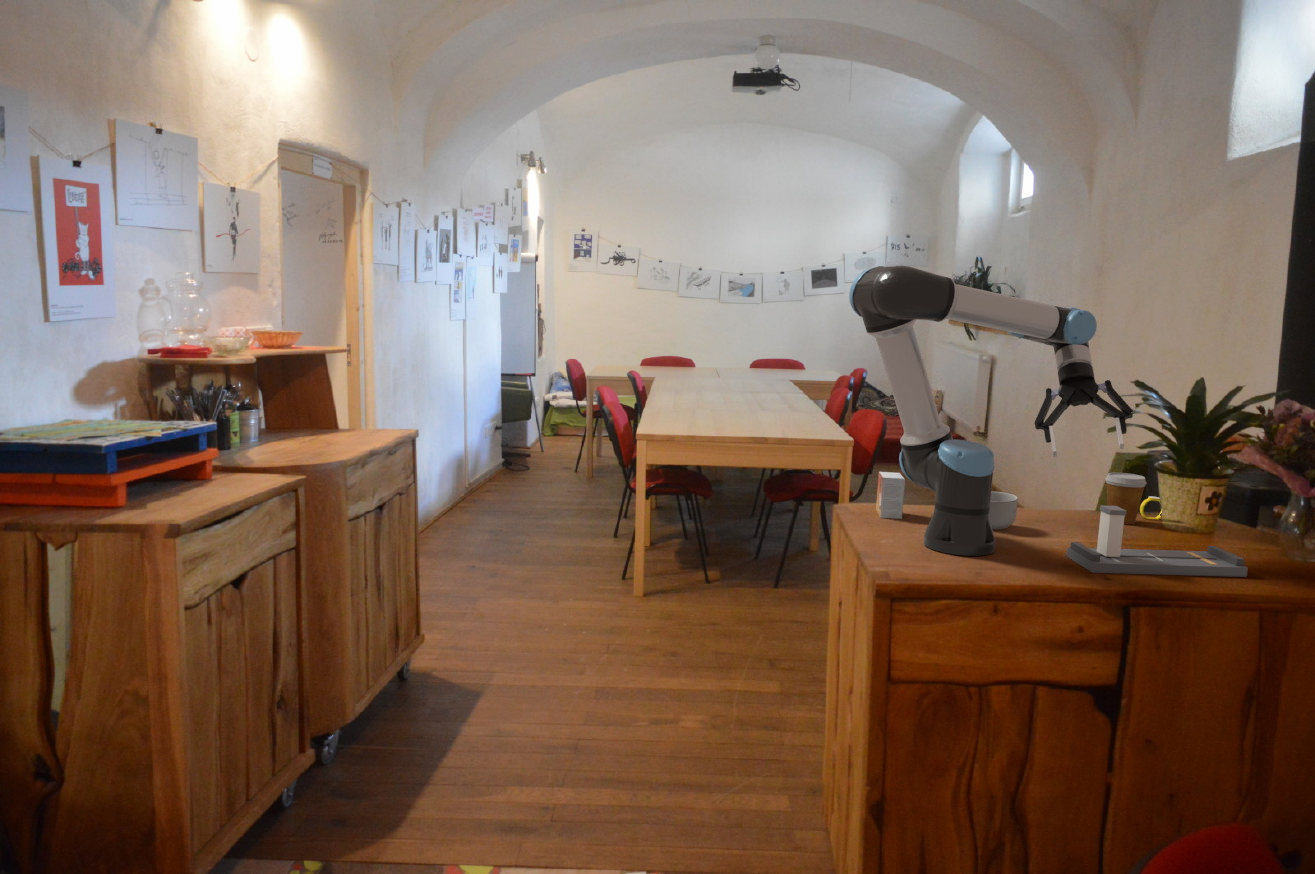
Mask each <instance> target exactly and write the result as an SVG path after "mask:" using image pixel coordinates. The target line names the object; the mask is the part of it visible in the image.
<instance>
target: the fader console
mask: <svg viewBox="0 0 1315 874" xmlns="http://www.w3.org/2000/svg"><path fill="white" fill-rule="evenodd" d="M1206 550H1207V551H1203V550H1174V549H1173V550H1171V549H1170V550H1168V549H1135V548H1133V549H1132V548H1121V553H1120V557H1107V556H1104V555H1102V554H1101V553H1099V552H1097V547H1095V548H1094V547H1088V546H1085V545H1084V544H1082V543H1081V542H1078V541H1071V542H1070V546H1069V547H1066V555H1065V556H1066V557H1067V558H1069V559H1070V560H1071V559H1072V560H1071V561H1073V562H1075V563H1076V564H1078V565H1080V566H1081V567H1083V568H1084V569H1086V570H1088V571H1089V572H1091V573H1095V574H1096V573H1097V574H1098V573H1099V574H1100V573H1101V574H1129V575H1130V574H1131V575H1132V574H1133V575H1134V574H1135V575H1161V576H1162V575H1163V576H1164V575H1165V576H1169V575H1170V576H1200V577H1201V576H1202V577H1203V576H1204V577H1205V576H1206V577H1237V578H1239V577H1241V578H1242V577H1243V578H1247V576H1248V570H1249V569H1248V568H1249V567H1248V566H1246V565H1245V561H1246V560H1245V558H1243V557H1242V556H1239V555H1236V554H1234V553H1232V552H1230V551H1228V550H1225V549H1223V548H1221V547H1218V546H1216V545H1208V546H1207V549H1206Z"/></svg>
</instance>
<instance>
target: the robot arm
mask: <svg viewBox="0 0 1315 874" xmlns="http://www.w3.org/2000/svg"><path fill="white" fill-rule="evenodd" d="M848 293H849V294H848V295H849V296H848V298H849V304H850V307H851V308H852V310H853V311H854V312H855V314H857V316H859V317H861V318H862V322H863V324H864V327H865V330H866V334H868V335H870V336H871V337H874V339H875V340H876V343H877V344H876V345H877V346H878V351H879V353H880V356H881V360H882V364H883V366H884V370H885V373H886V377H887V380H888V383H889V386H890V390H891V393H892V395H893V399H894V402H895V405H896V408H897V413H898V416H899V419H900V422H901V426H902V429H903V435H902V436H901V437H900V440H899V441H900V446H901V451H900V452H899V455H898V456H899V457H898V460H899V467H900V470H901V471H902V473H903V475H904V476H905V478H907V479H908V480H909V481H911V482H912V483H914V484H915V485H917V486H920V487H922V488H926V489H929V490H931V491H933V492H935V498H934V510H933V513H932V515H931V518H930V521H929V522H928V525H927V527H926V529H925V532H924V537H923V544H924V546H925V547H927V548H928V549H931V550H934V551H936V552H940V553H945V554H949V555H955V556H966V557H967V556H969V557H979V556H981V557H982V556H987V555H991V554H994V553H995V551H996V550H995V549H996V539H995V535H994V529H992V526H991V522H990V518H989V510H990V500H991V491H992V487H993V478H994V477H993V476H994V470H995V457H994V456H995V455H994V452H993V450H992V449H991V448H990V447H988V446H986V445H984V444H983V443H979V442H976V441H975V442H974V441H970V440H966V439H954V438H953V435H952V432H951V428H950V426H949V425H947V424H945V423H943V422H942V421H941V418H940V415H939V412H938V408H937V404H936V401H935V398H934V394H933V391H932V388H931V383H930V380H929V377H928V374H927V370H926V366H925V364H924V360H923V357H922V353H921V350H920V346H919V343H918V339H917V336H916V333H915V329H914V325H915V322H917V320H918V321H919V320H920V321H921V320H922V321H923V320H924V321H932V322H937V323H941V322H943V321H945V320H950V321H955V322H959V323H965V324H969V325H973V326H974V325H975V326H980V327H985V328H990V329H994V330H999V331H1004V332H1007V333H1008V334H1009V335H1010V336H1013V337H1016V338H1019V339H1024V340H1027V341H1031V342H1036V343H1039V344H1044V345H1047V346H1050V347H1053V351H1054V357H1055V358H1054V359H1055V363H1056V365H1055V366H1056V369H1057V377H1058V384H1059V388H1058V389H1051V388H1049V387H1048V388H1046V389H1045V398H1044V400H1043V402H1042V404H1041V406H1040V409H1039V412H1038V413H1037V415H1036V418H1035V420H1034V428H1035V429H1036V430H1037V431H1038V430H1042V431H1043V433H1044V439H1045V440H1044V441H1045V443H1046V444H1048V443H1051V450H1052V456H1053V458H1056V457H1058V455H1057V448H1056V447H1057V445H1056V441H1055V433H1054V424H1055V423H1056V422H1057V421H1058V420H1059V419H1060V417H1061V416H1062V415H1063V413H1064V412H1065V411H1066V410H1068V409H1069V407H1071V406H1072V407H1078V406H1088V405H1089V404H1092V405H1094V406H1096V407H1097V408H1099V409H1101V410H1102V411H1104V412H1105V413H1106V414H1108V415H1109V416H1111V417H1112V418H1114V421H1115V422H1114V424H1115V429H1116V436H1117V441H1118V447H1119V450H1124V449H1125V448H1124V443H1125V442H1124V437H1123V435H1125V434H1127V431H1128V430H1127V429H1128V428H1127V423H1126V420H1128V419H1133V415H1134V411H1133V409H1132V408H1131V406H1129V404H1128V403H1127V402H1126V401H1125V400H1124V399H1123V397H1121V395H1120V394H1119V393H1118V392H1117V391H1116V389H1114V387H1113V385H1112V381H1111V380H1110V379H1107V380H1106V379H1105V381H1104V382H1102V383H1099V384H1098V383H1097V382H1096V379H1095V373H1094V368H1093V362H1092V361H1093V360H1092V354H1091V349H1090V345H1089V342H1090V341H1091V340H1092V339H1093V337H1094V336H1095V334H1096V332H1097V326H1098V323H1097V320H1096V318H1095V316H1094V314H1093V313H1092V312H1090V311H1089V310H1086V309H1085V310H1084V309H1080V308H1077V307H1073V306H1070V307H1066V306H1065V307H1063V306H1057V305H1053V304H1049V303H1044V302H1040V301H1036V300H1030V299H1026V298H1021V297H1016V296H1011V295H1007V294H1003V293H998V292H992V291H988V290H985V289H979V288H977V287H975V288H974V287H971V286H965V285H961V284H956V283H955V281H954V280H953V278H951V277H947V276H942V275H939V274H935V273H932V272H929V271H926V270H922V269H919V268H916V267H912V266H907V265H894V266H893V265H892V266H883V265H882V266H881V265H877V266H874V267H871V268H867V269H865V270H863V271H862V272H860V273H859V274H858V275H857V276H856V277H855V278H854V280H853V282H852V284H851V285H850V288H849V292H848ZM1099 391H1101V392H1103V393H1104V394H1107V396H1108V398H1110V400H1111V401H1112V402H1113V403H1114V404H1115V405H1116V406H1117V408H1116V407H1115V406H1114V405H1112V404H1111V403H1109V402H1108V401H1106V400H1105V399H1104V398H1102V397H1101V396H1100V395H1099V394H1098V392H1099ZM1057 396H1059V397H1060V398H1061V400H1059V403H1058V404H1057V406H1056V407H1055V408H1054V410H1052V412H1051V413H1050V414H1049V415H1048V412H1049V410H1050V408H1051V406H1052V403H1053V400H1055V399H1056V398H1057ZM1131 412H1133V413H1131ZM1047 415H1048V417H1047ZM1046 417H1047V418H1046Z"/></svg>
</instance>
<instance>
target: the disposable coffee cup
mask: <svg viewBox="0 0 1315 874" xmlns="http://www.w3.org/2000/svg"><path fill="white" fill-rule="evenodd" d="M1104 480H1105V483H1106V499H1107V500H1106V503H1107V505H1106V506H1117V507H1120V508H1122V509H1124V510H1126V511H1127V512H1126V515H1125V517H1124V525H1135V524H1136V522H1137V517H1138V513H1139V510H1140V505H1141V503H1142V497H1143V494H1144V489H1145V487H1146V485H1147V483H1148V482H1147V480H1146V477H1145V476H1143V475H1139V474H1135V473H1127V472H1109V473H1107V475H1106V477H1105V478H1104Z"/></svg>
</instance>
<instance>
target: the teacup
mask: <svg viewBox="0 0 1315 874" xmlns="http://www.w3.org/2000/svg"><path fill="white" fill-rule="evenodd" d="M1018 501H1019V497H1018V496H1017V495H1015V494H1012V493H1009V492H1001V491H993V490H991V500H990V510H989V518H990V522H991V526H992V530H993V531H994V530H1005V529H1007V528H1009V526H1011V525H1013V524H1014V523H1015V521H1016V519H1017V518H1016V517H1017V511H1018Z"/></svg>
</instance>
